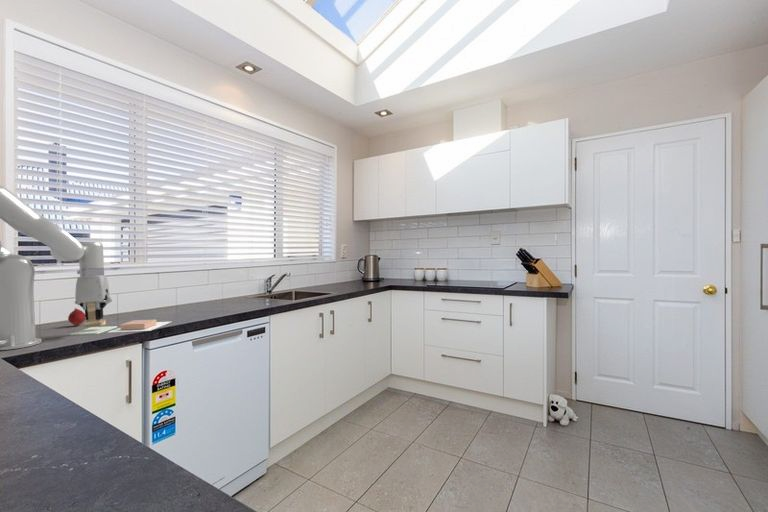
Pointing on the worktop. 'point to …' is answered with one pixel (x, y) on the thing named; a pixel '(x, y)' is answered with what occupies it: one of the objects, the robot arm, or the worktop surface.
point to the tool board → (93, 330)
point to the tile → (138, 324)
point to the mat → (142, 329)
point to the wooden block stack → (93, 316)
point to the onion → (76, 317)
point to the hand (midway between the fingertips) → (94, 318)
